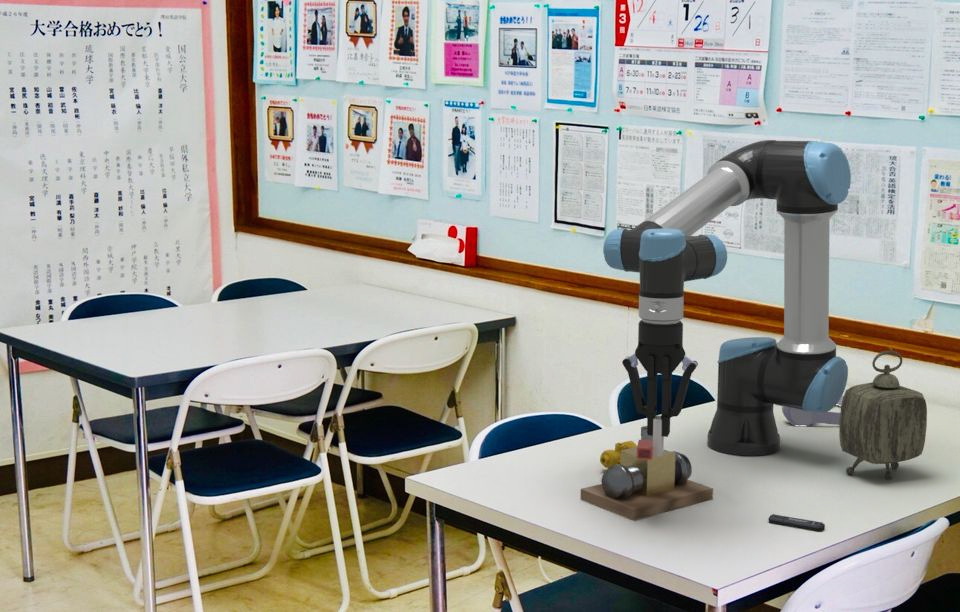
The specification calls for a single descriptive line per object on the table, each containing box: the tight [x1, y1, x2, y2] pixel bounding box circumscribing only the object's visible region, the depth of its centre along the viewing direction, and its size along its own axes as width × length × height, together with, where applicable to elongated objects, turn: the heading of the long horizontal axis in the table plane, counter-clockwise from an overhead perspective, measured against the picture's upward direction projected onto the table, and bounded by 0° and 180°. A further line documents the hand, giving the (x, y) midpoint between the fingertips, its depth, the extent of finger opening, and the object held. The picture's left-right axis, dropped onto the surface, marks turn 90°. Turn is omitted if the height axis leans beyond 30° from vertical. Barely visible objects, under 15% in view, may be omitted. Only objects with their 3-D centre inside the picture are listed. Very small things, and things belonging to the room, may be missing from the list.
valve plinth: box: [580, 479, 714, 521], centre depth 225 cm, size 20×14×2 cm
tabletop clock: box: [838, 350, 928, 481], centre depth 238 cm, size 14×9×25 cm, turn 111°
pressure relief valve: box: [599, 440, 638, 469], centre depth 241 cm, size 6×12×10 cm
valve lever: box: [636, 425, 653, 460], centre depth 217 cm, size 15×3×2 cm, turn 169°
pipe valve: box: [601, 447, 693, 499], centre depth 224 cm, size 18×7×10 cm, turn 127°
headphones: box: [781, 395, 844, 427], centre depth 285 cm, size 22×7×20 cm
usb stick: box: [768, 513, 826, 533], centre depth 212 cm, size 10×3×2 cm, turn 60°
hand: (658, 453), depth 213 cm, fingers closed
